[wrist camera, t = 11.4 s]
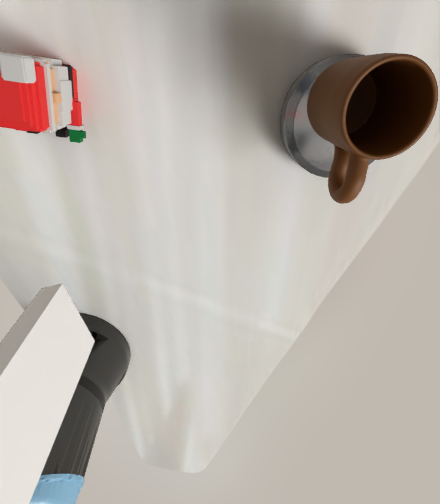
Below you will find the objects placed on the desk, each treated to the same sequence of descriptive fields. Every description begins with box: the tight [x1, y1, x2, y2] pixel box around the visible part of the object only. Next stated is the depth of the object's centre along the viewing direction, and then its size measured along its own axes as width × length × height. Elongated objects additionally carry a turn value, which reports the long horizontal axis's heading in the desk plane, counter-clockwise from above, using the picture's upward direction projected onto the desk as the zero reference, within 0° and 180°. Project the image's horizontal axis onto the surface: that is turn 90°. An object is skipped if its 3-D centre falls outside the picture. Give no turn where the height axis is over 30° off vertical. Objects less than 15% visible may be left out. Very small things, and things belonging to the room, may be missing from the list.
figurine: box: [0, 50, 86, 143], centre depth 28 cm, size 8×7×12 cm
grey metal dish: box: [280, 54, 374, 178], centre depth 35 cm, size 12×12×3 cm
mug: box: [307, 53, 438, 204], centre depth 29 cm, size 12×8×9 cm, turn 168°
